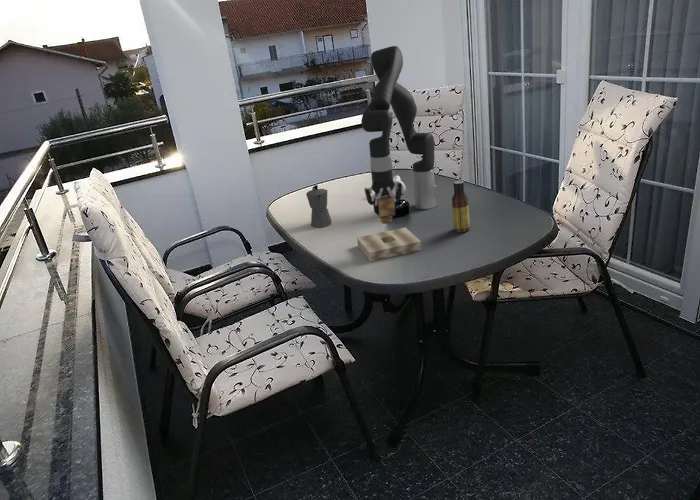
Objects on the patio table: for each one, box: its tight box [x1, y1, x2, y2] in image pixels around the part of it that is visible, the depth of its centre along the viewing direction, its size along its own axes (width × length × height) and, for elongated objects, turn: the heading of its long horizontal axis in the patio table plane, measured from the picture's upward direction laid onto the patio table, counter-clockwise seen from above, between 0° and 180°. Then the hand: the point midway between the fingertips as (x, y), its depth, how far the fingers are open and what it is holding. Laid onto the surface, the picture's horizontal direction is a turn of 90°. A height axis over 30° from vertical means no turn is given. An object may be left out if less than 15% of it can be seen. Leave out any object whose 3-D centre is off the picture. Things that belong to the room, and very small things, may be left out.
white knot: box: [392, 175, 407, 196], centre depth 246 cm, size 11×12×9 cm
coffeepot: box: [305, 184, 333, 229], centre depth 219 cm, size 15×9×18 cm, turn 13°
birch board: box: [356, 226, 422, 262], centre depth 189 cm, size 20×16×4 cm
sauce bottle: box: [451, 180, 471, 233], centre depth 193 cm, size 7×6×20 cm
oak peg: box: [377, 195, 396, 225], centre depth 183 cm, size 6×6×10 cm
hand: (385, 212), depth 184 cm, fingers closed on oak peg, 5 cm apart
